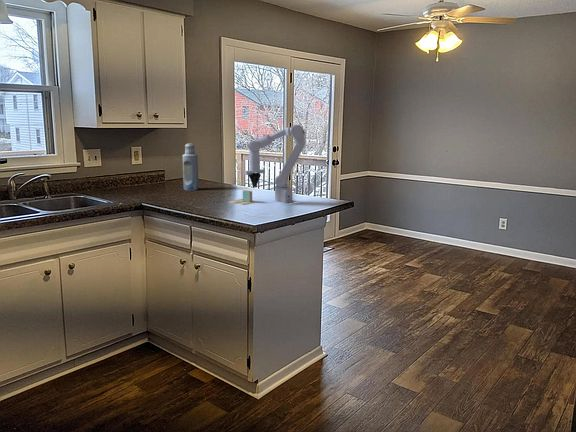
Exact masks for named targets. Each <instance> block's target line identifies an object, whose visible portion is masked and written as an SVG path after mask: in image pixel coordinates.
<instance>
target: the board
mask: <svg viewBox="0 0 576 432" xmlns="http://www.w3.org/2000/svg"><path fill="white" fill-rule="evenodd" d="M228 203H230V204H237V205H242V206H247V205H252V204H256V203H257V204H258V203H260V200H259V201H258V200H253V199H252V202H245V201H243V198H241V199H236V200H235V199H234V200H231V201H230V200H229V201H228Z"/></svg>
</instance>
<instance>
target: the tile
mask: <svg viewBox="0 0 576 432" xmlns="http://www.w3.org/2000/svg"><path fill="white" fill-rule="evenodd" d="M242 199H243V201H245V202H252V200H253V191H251V190H246V189H245V190H242Z"/></svg>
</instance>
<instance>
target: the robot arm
mask: <svg viewBox="0 0 576 432" xmlns="http://www.w3.org/2000/svg"><path fill="white" fill-rule="evenodd" d="M305 134H306V132H305V129H304V128H303V126H302V125H300V124H294V125H292V126H288V127H285V128H283V129H281V130H279V131H276V132H275V133H273V134H271V135H270V134H262V136H261V137H259V138H255V139H254V140H251V141H250V142H248V143H249V144H248V150H249V157H248V159H249V160H248V161H249V166H248V167H249V169H248V170H244V172H243V174H244V176H248V177H249V179H250V181H251V185H252V187H253V188H257V187H258V183H259V181H260V177H261V176H262V175H261V174H265V169H263V168H261V162H260V154H261V153H260V149H263V148H266V147H268V146H270V145H272V143H273V141H275V140H278V139H279V138H283V137H285V136H291V137H292V138H293V140H294V142H295V145H294V147H293V149H292V151H291V153H290V154H289V157H288V158H287V161H286V162H285V164H284V166H283V168H282V169H281V171H280V173H279V174H278V175H277V176H275V179H274V184H275V186H274V201H275V202H276V203H282V204H285V205H287V204H288V203H290V204H291V203H292V204H293V190H292V188H291V187H289V185H288V184H287V183H288V182H289V177H290V175H291V172H292V170H293V168H294V166H295V165H296V162H297V161H298V159H299V157H300V155H301V153H302V152H303V149H304V148H305V146H306V135H305Z"/></svg>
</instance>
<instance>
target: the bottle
mask: <svg viewBox="0 0 576 432" xmlns="http://www.w3.org/2000/svg"><path fill="white" fill-rule="evenodd" d="M198 159H199V158H198V154H196V151H195V144H193V143H186V144H185V145H184V154H182V180H183V190H184V191H197V190H199V169H198V168H199V162H198Z"/></svg>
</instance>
